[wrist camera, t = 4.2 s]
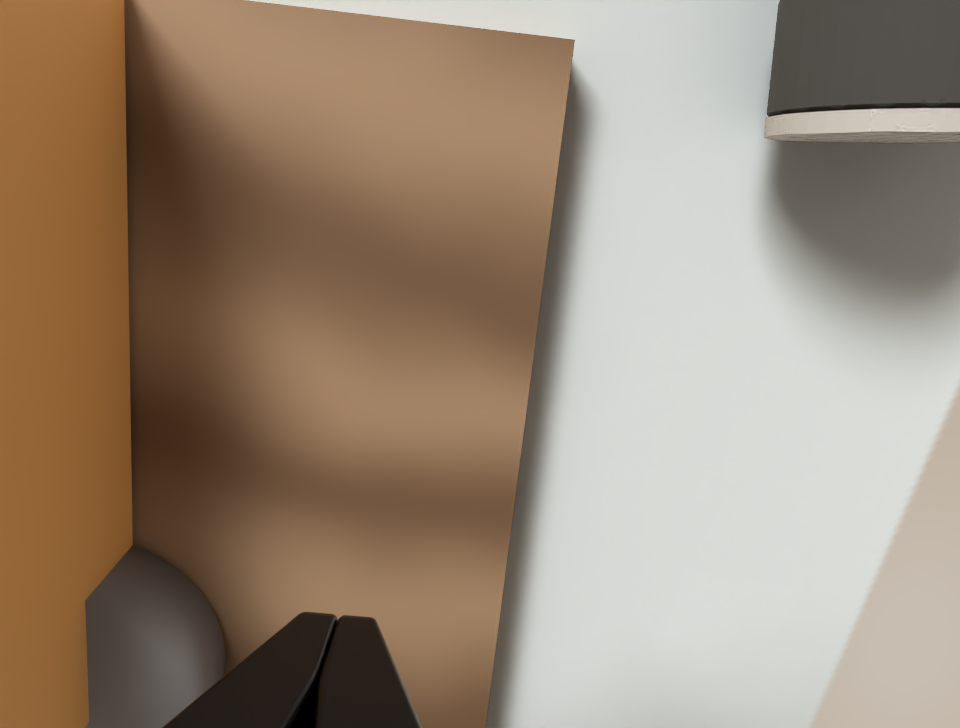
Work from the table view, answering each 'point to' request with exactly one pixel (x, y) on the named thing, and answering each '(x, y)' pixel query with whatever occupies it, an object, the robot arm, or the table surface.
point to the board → (337, 318)
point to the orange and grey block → (76, 399)
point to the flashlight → (865, 71)
